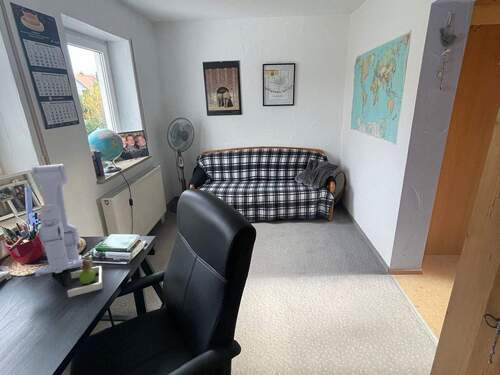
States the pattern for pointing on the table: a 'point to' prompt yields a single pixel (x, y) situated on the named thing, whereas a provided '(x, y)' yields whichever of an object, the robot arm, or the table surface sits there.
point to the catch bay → (89, 287)
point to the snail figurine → (87, 272)
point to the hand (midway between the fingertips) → (64, 286)
